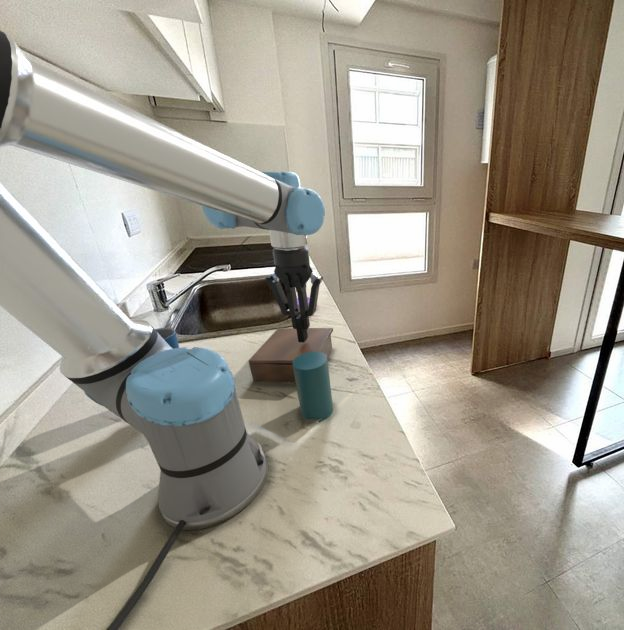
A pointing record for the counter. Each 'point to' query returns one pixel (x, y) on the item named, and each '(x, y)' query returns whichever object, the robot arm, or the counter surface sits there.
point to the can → (313, 385)
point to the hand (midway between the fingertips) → (303, 339)
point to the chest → (279, 369)
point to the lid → (290, 345)
